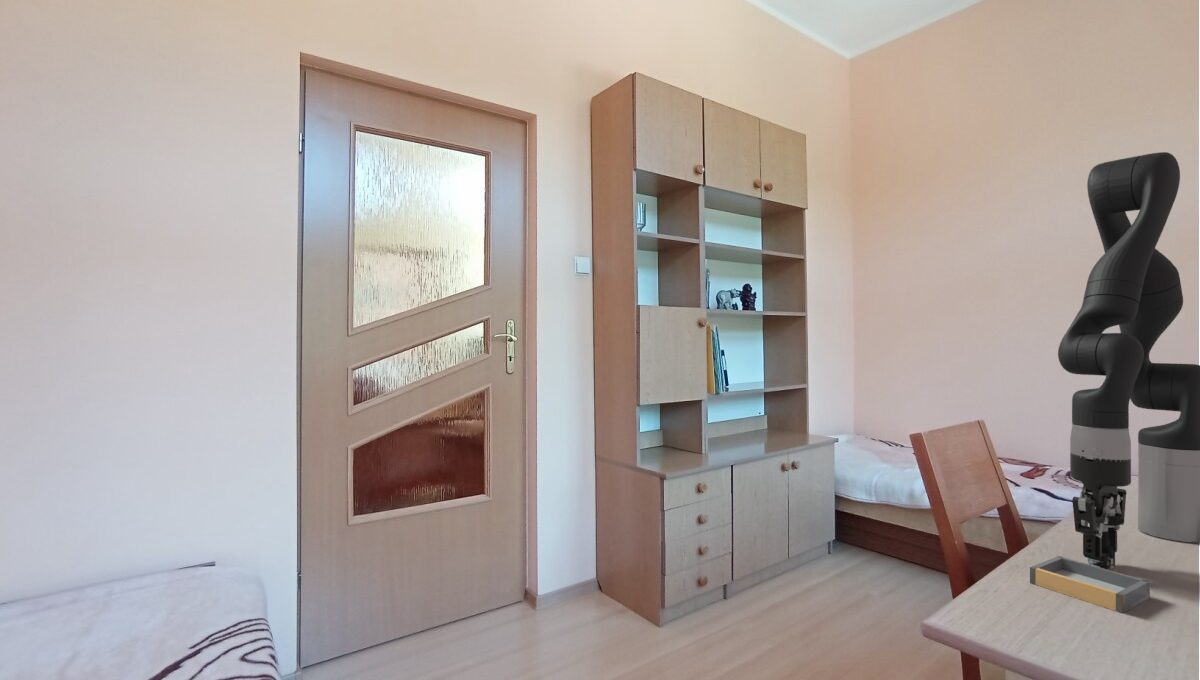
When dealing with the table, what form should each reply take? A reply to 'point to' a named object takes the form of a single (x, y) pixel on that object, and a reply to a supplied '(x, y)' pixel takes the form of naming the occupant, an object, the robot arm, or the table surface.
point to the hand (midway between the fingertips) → (1100, 554)
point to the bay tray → (1090, 583)
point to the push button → (1107, 542)
